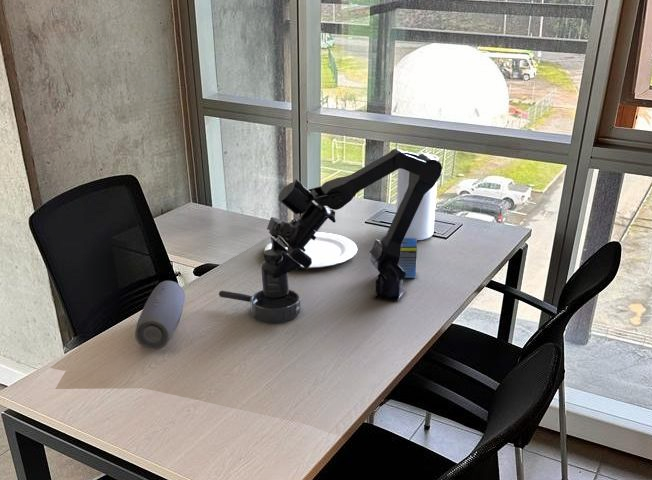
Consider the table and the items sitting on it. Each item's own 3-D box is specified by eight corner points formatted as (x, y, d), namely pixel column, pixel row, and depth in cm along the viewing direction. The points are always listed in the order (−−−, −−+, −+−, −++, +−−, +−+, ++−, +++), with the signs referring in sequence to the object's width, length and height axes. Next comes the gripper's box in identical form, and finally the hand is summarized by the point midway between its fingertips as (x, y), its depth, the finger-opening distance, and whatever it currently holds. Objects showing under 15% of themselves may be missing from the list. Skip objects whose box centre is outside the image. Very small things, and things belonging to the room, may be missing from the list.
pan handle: (256, 300, 194) (256, 294, 193) (253, 303, 193) (253, 297, 192) (221, 295, 198) (220, 289, 197) (217, 297, 196) (217, 291, 195)
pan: (307, 306, 195) (307, 291, 193) (288, 327, 185) (287, 312, 183) (264, 299, 200) (263, 285, 197) (243, 319, 190) (242, 305, 187)
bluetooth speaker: (155, 312, 194) (149, 278, 189) (189, 312, 194) (185, 278, 189) (135, 355, 175) (129, 318, 170) (173, 354, 175) (168, 317, 169)
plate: (373, 247, 230) (373, 241, 229) (327, 280, 209) (326, 274, 208) (297, 231, 244) (297, 226, 243) (246, 261, 223) (245, 255, 222)
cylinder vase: (391, 228, 244) (394, 154, 230) (427, 226, 245) (432, 152, 231) (399, 242, 233) (403, 164, 220) (437, 239, 234) (443, 162, 221)
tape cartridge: (415, 273, 212) (417, 233, 205) (415, 278, 209) (418, 238, 202) (384, 272, 213) (386, 233, 206) (384, 278, 209) (386, 238, 203)
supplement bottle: (294, 293, 190) (292, 250, 184) (277, 302, 186) (274, 259, 179) (274, 286, 194) (271, 245, 187) (257, 296, 189) (254, 253, 183)
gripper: (274, 195, 186) (236, 242, 189) (297, 218, 171) (256, 268, 174) (304, 220, 192) (267, 265, 195) (329, 244, 177) (289, 292, 180)
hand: (269, 272), depth 186 cm, fingers closed on supplement bottle, 7 cm apart
